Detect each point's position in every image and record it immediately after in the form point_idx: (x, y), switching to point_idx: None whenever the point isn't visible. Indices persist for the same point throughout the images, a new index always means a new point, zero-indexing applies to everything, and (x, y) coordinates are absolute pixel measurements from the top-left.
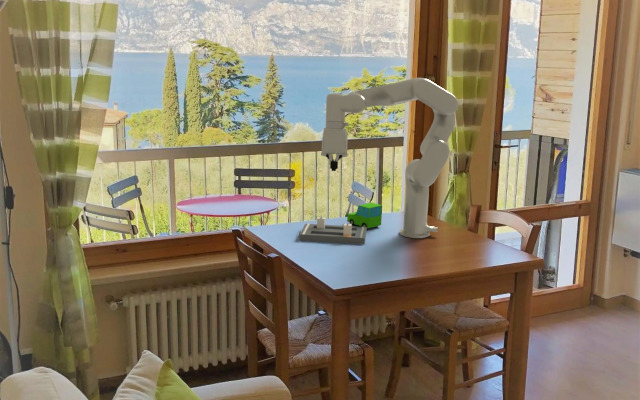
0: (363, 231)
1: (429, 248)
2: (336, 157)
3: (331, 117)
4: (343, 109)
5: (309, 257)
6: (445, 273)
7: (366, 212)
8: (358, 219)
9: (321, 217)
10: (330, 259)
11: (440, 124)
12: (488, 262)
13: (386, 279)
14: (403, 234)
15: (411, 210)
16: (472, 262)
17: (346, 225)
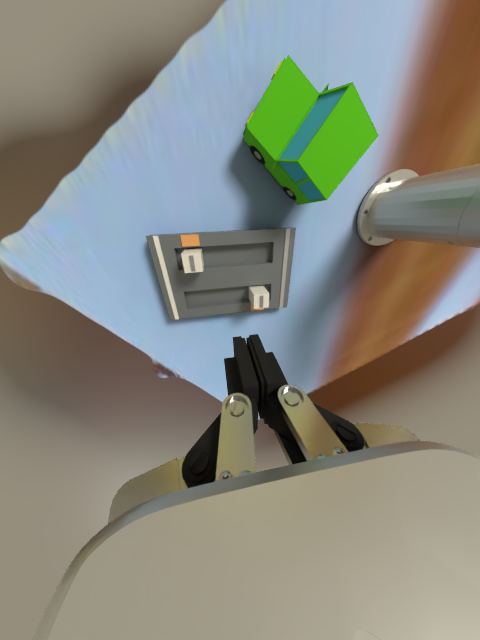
0: (286, 265)
1: (376, 293)
2: (292, 455)
3: None
4: None
5: (213, 372)
6: (358, 367)
7: (311, 192)
8: (280, 174)
9: (193, 263)
10: None
11: None
12: (421, 325)
13: None
14: (361, 236)
15: (427, 240)
16: (403, 330)
17: (259, 307)
